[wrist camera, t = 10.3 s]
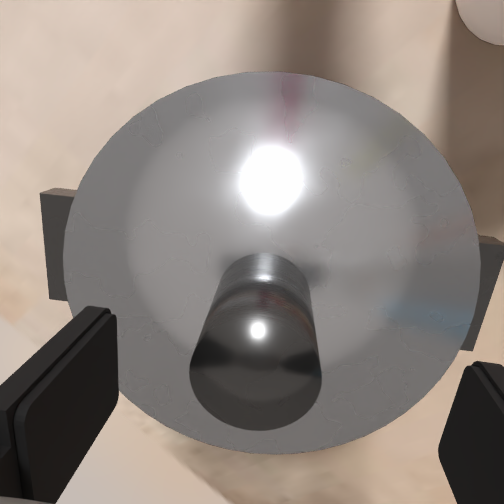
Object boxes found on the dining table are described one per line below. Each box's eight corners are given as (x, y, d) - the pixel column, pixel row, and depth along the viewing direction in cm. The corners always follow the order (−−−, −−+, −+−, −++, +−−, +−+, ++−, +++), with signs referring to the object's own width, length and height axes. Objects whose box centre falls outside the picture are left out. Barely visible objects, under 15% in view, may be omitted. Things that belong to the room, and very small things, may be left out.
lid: (497, 89, 15) (696, 71, 8) (412, 429, 20) (482, 602, 13) (75, 66, 15) (-100, 30, 8) (105, 398, 21) (14, 545, 14)
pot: (458, 114, 22) (568, 118, 13) (398, 343, 27) (450, 450, 18) (114, 80, 23) (12, 62, 14) (119, 309, 28) (47, 397, 19)
